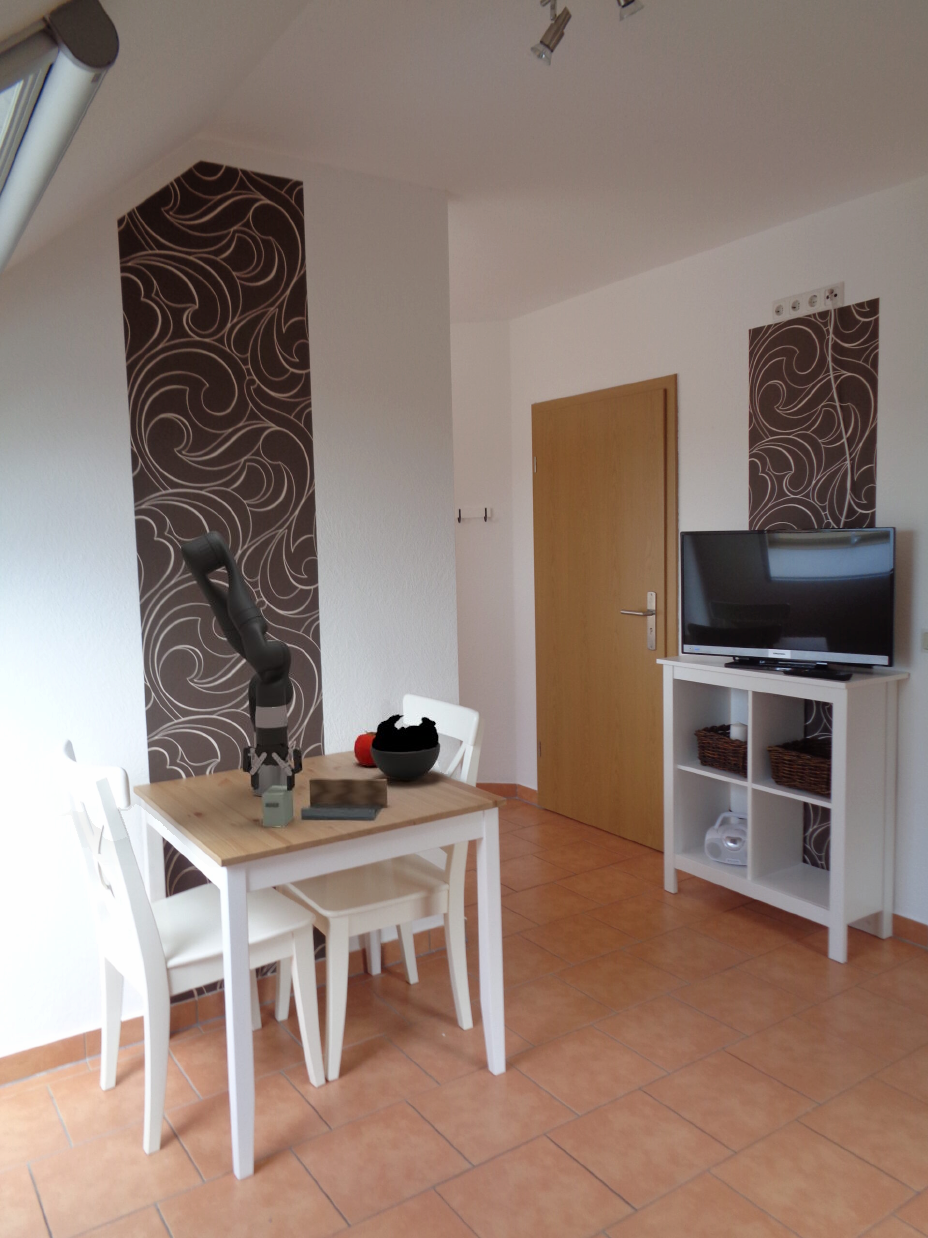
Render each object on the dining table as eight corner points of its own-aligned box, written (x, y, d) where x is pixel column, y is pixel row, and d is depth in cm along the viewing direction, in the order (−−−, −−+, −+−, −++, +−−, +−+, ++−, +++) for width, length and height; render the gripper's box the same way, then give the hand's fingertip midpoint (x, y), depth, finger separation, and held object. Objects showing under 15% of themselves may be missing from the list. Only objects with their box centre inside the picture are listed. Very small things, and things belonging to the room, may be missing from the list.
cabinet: (262, 828, 216) (260, 795, 216) (273, 817, 225) (272, 785, 224) (282, 828, 216) (281, 795, 215) (293, 817, 224) (292, 785, 224)
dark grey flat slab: (301, 819, 223) (301, 809, 222) (313, 806, 234) (313, 797, 233) (373, 820, 221) (373, 810, 220) (382, 807, 231) (382, 798, 231)
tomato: (358, 760, 285) (357, 727, 285) (394, 760, 284) (393, 727, 283) (350, 769, 274) (349, 735, 273) (387, 769, 272) (386, 735, 272)
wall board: (310, 806, 234) (309, 779, 233) (311, 805, 235) (310, 778, 235) (386, 807, 231) (385, 780, 231) (387, 806, 233) (386, 779, 232)
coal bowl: (358, 778, 262) (356, 714, 260) (416, 768, 273) (414, 706, 272) (395, 792, 246) (393, 724, 244) (454, 780, 257) (453, 715, 256)
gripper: (237, 726, 216) (239, 793, 217) (294, 727, 214) (296, 794, 215) (249, 720, 223) (250, 785, 225) (304, 721, 221) (306, 786, 222)
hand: (273, 789), depth 220 cm, fingers open, 8 cm apart
